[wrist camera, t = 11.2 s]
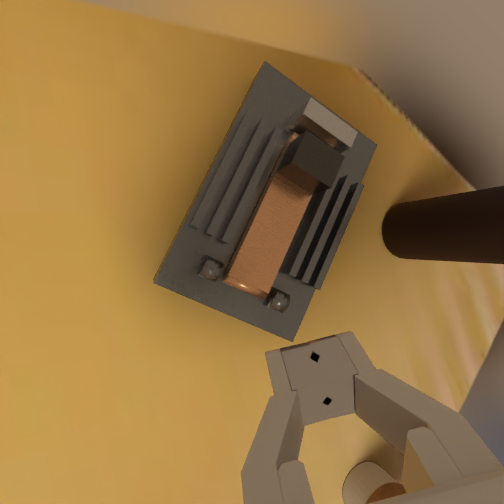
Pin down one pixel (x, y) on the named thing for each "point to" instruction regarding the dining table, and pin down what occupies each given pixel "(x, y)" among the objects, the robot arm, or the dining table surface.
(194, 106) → the dining table surface
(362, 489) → the coffee cup
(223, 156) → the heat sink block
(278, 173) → the brown and black bar
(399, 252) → the bottle
